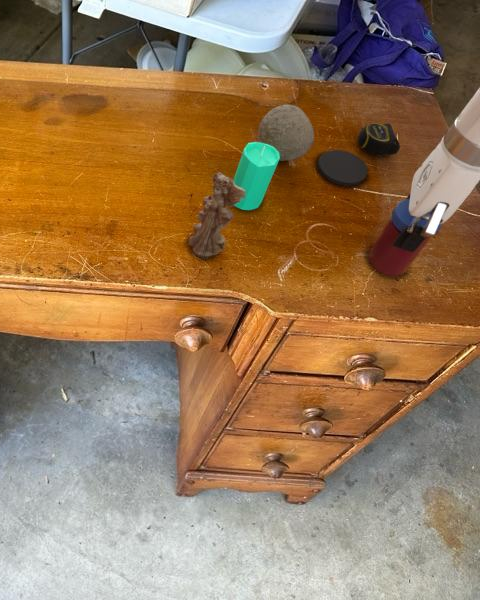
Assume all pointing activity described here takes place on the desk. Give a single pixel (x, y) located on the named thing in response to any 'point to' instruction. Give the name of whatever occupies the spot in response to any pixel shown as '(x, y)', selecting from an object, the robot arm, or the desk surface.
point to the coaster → (342, 167)
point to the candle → (255, 173)
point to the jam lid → (406, 216)
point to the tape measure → (378, 139)
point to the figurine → (215, 216)
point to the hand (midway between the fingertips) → (405, 230)
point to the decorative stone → (287, 131)
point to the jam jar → (392, 253)
